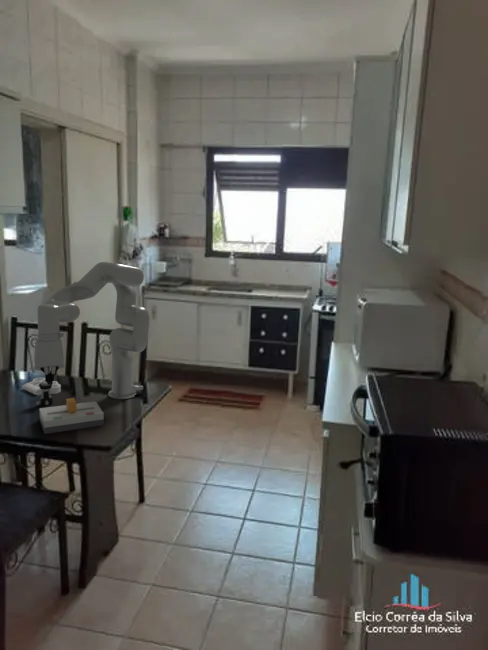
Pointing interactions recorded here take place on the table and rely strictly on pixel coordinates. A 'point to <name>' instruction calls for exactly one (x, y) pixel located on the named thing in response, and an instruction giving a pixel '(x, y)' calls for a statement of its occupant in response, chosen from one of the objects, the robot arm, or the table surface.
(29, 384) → the knuckle duster
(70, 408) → the lever
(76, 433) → the table surface
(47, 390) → the push button
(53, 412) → the switch panel
